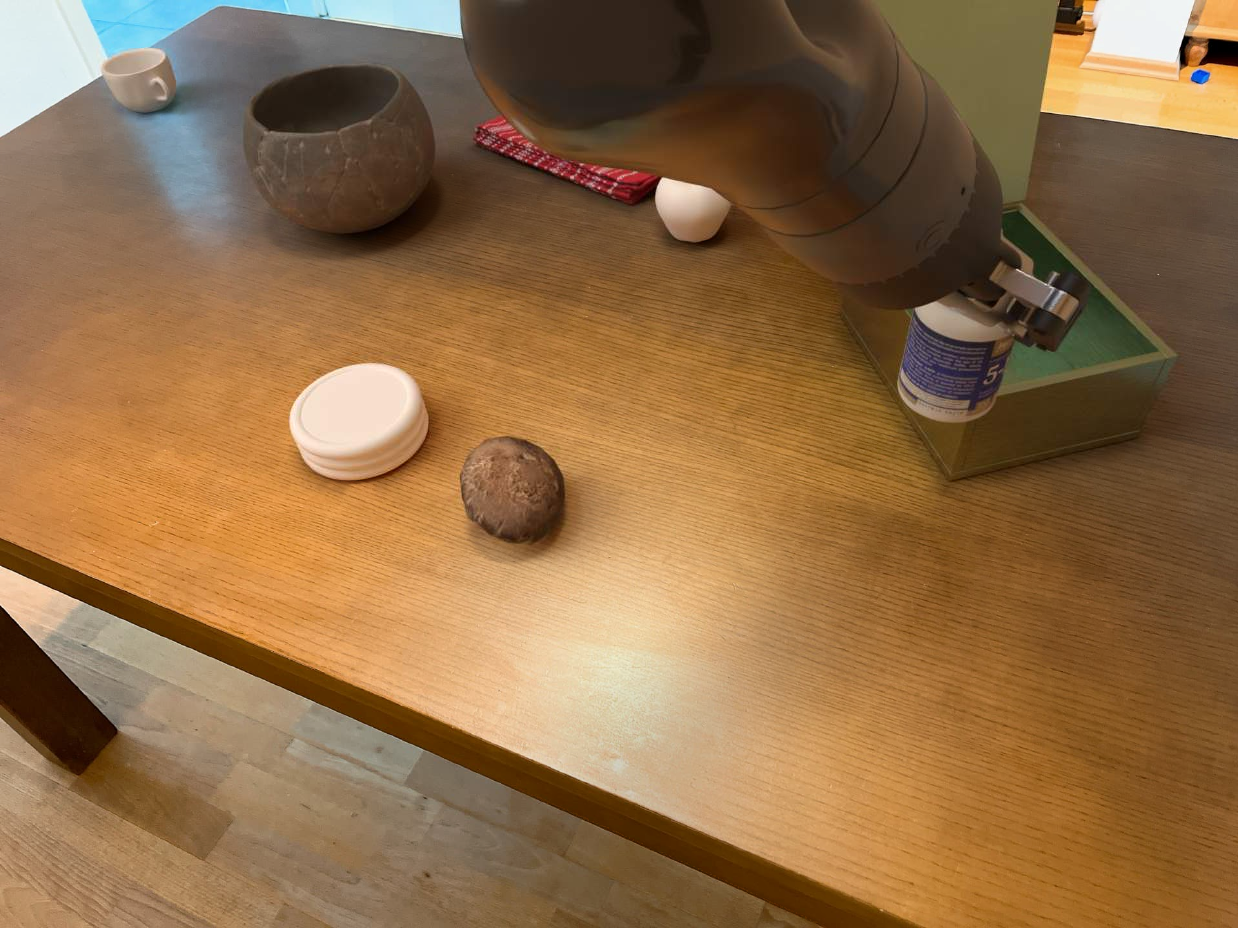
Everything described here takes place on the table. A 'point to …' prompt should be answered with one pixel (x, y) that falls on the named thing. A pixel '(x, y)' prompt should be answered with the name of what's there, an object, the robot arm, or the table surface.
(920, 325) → the pill bottle
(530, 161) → the dish towel
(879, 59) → the robot arm
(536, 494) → the mushroom
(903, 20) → the box lid
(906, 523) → the table surface
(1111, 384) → the open box
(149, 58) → the teacup
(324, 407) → the white round flat piece
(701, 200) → the plain white apple
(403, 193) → the bowl
